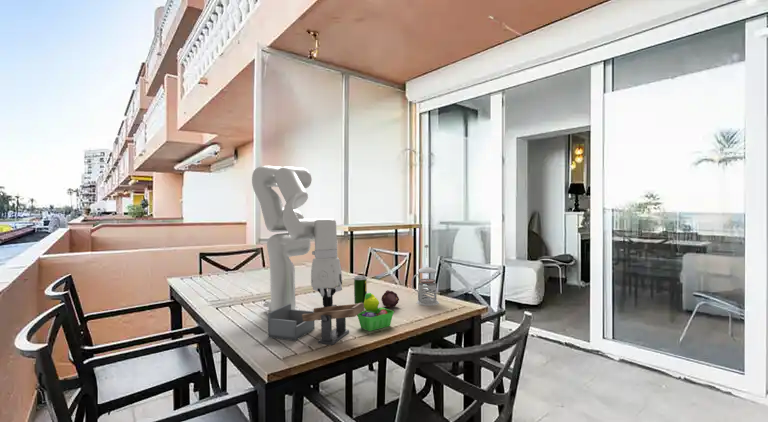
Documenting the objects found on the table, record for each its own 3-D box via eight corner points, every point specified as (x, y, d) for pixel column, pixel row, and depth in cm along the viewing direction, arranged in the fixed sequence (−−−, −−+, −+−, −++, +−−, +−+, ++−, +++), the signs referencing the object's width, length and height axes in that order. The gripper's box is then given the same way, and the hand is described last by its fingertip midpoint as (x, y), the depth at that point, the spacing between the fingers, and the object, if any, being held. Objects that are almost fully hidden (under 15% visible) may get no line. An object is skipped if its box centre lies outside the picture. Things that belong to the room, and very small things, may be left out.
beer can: (355, 306, 155) (354, 277, 155) (353, 303, 160) (353, 275, 160) (368, 305, 156) (367, 277, 156) (365, 302, 162) (365, 275, 162)
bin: (268, 337, 119) (267, 312, 119) (289, 326, 131) (289, 303, 130) (295, 340, 116) (294, 315, 116) (314, 328, 127) (314, 305, 127)
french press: (441, 305, 155) (440, 245, 155) (413, 306, 154) (412, 246, 154) (436, 299, 165) (435, 243, 164) (410, 300, 164) (409, 243, 164)
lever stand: (317, 343, 113) (316, 315, 113) (336, 330, 125) (335, 305, 125) (332, 345, 111) (331, 317, 111) (349, 331, 123) (349, 306, 123)
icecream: (404, 295, 147) (396, 290, 162) (386, 291, 146) (379, 287, 161) (400, 312, 146) (392, 306, 161) (383, 309, 145) (376, 303, 160)
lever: (303, 321, 117) (301, 313, 117) (326, 308, 132) (325, 301, 132) (354, 316, 111) (353, 308, 112) (373, 303, 127) (372, 296, 127)
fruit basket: (367, 333, 122) (367, 299, 122) (353, 326, 129) (353, 294, 129) (395, 326, 128) (394, 293, 128) (380, 320, 136) (379, 289, 136)
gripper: (301, 255, 126) (303, 309, 126) (341, 255, 122) (343, 311, 121) (312, 253, 134) (314, 304, 133) (350, 253, 129) (352, 306, 129)
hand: (327, 307), depth 127 cm, fingers closed
